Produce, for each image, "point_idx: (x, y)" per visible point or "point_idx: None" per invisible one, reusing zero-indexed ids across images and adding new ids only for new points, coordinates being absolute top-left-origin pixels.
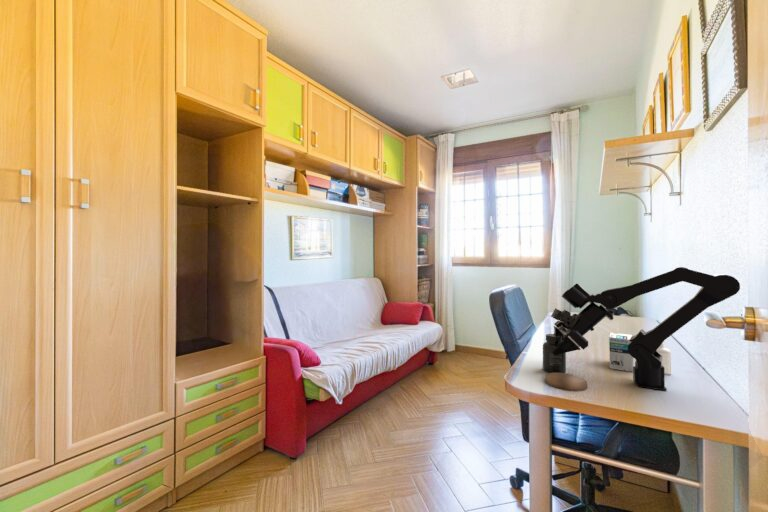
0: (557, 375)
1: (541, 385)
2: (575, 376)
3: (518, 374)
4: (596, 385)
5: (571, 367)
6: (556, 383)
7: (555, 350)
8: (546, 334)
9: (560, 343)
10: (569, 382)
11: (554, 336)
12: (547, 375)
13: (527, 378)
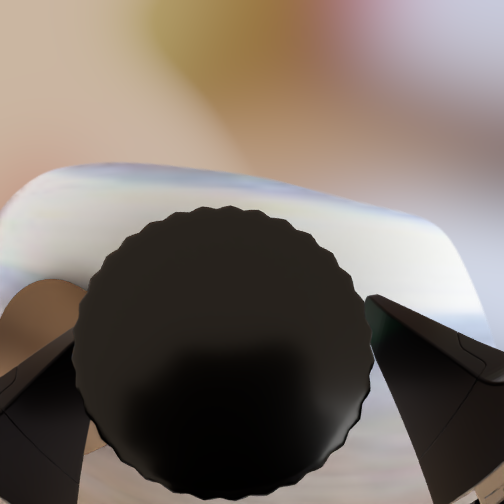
0: None
1: (30, 263)
2: (91, 431)
3: (134, 183)
4: (91, 490)
5: (359, 453)
6: (6, 311)
7: (66, 336)
8: (261, 215)
9: (17, 381)
10: (12, 366)
11: (96, 341)
12: (67, 291)
13: (90, 217)
